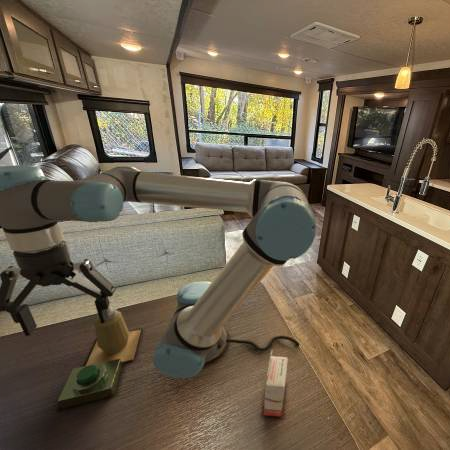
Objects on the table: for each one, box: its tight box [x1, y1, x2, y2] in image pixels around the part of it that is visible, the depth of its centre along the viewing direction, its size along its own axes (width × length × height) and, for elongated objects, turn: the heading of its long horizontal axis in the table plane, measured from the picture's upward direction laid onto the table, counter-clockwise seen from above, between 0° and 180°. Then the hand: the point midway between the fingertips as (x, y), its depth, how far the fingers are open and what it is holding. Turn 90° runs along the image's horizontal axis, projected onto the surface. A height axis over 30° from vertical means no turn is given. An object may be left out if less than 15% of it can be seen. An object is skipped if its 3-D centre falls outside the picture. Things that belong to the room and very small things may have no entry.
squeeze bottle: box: [94, 305, 130, 354], centre depth 74 cm, size 8×8×18 cm
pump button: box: [77, 365, 98, 385], centre depth 64 cm, size 4×4×2 cm
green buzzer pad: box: [57, 359, 123, 409], centre depth 66 cm, size 11×9×5 cm
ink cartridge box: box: [263, 350, 289, 418], centre depth 65 cm, size 9×5×15 cm, turn 178°
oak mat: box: [85, 329, 141, 366], centre depth 78 cm, size 12×12×1 cm
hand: (69, 324), depth 58 cm, fingers open, 13 cm apart
